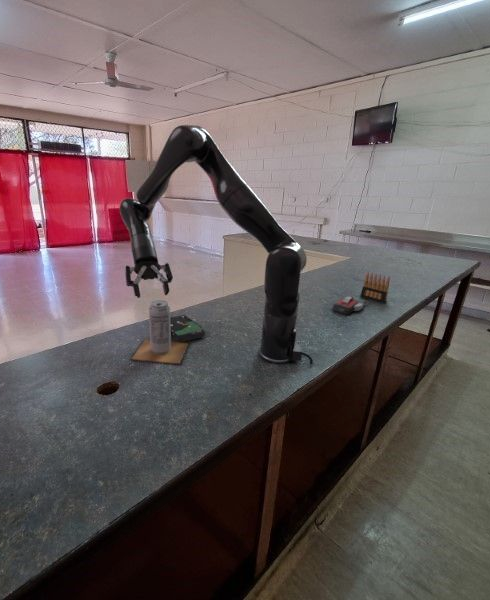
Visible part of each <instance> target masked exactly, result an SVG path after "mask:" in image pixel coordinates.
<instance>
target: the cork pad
mask: <svg viewBox="0 0 490 600" xmlns="http://www.w3.org/2000/svg"><path fill="white" fill-rule="evenodd" d="M188 346H189V343H188V342H177V341H171V348H170V349H169V351H168V352H167V353H165V354H156V353H154V352H153V351H152V350H151V346H150V339H148V338H147V339H146V338H145V339H144V340H143V342H142V343H141V344H140V346H139V347H138V348H137V350H136V352H135V353H134V354H133V356H132V357H131V361H140V362H141V361H142V362H151V363H152V362H153V363H161V364H162V363H163V364H172V365H181V362H182V359H183V357H184V355H185V352H186V350H187V348H188Z"/></svg>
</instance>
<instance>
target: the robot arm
mask: <svg viewBox="0 0 490 600" xmlns="http://www.w3.org/2000/svg"><path fill="white" fill-rule="evenodd" d="M185 163H195V164H197V166H199V167H200V168H201V169H202V170H203V172H204V173H205V174H206V175H207V176H208V178H209V180H210V182H211V185H212V188H213V193H214V195H215V198H216V201H217V202H218V205H219V206H220V207H221V208H222V210H223V211H224V212H225V214H226V215H227V216H228V217H229V219H231V221H232V222H233V223H234V224H235V225H237V226H238V227H239V228H240V229H242V230H243V231H245V232H246V233H248V234H249V235H250V236H252V237H253V238H254V239H256V240H257V242H259V243H260V244H261V246H262V247H263V248H264V250H265V251H266V252H267V254H268V255H267V258H266V261H265V265H264V266H265V267H264V268H265V269H264V282H263V290H264V291H263V292H264V295H265V299H264V306H263V307H264V308H263V317H262V318H263V320H262V330H261V338H260V348H259V356H260V357H261V358H262V359H263V360H265V361H267V362H268V363H273V364H285V363H292V362H293V361H299V362H301V361H302V356H304V357H306V358H307V359H308V360H309V364H310V365H313V364H314V361H313V358H312V356H311V355H309V354H308V353H306V352H303V351H302V346H301V344H298V343H297V344H296V337H297V329H296V326H297V320H298V319H297V318H298V312H299V304H300V297H301V296H300V292H299V287H300V279H301V273H302V272H303V270H304V269H305V267H306V265H307V260H308V259H307V254H306V251H305V250H304V248H303V247H302V246H301V245H300V244H299V242H297V241H296V240H295V239H294V238H293V237H292V235H290V234H289V233H288V232H287V231H286V230H285V229H284V228H283V227H282V226H281V225H280V224H279V223H278V221H277V220H276V219H275V217H274V215H273V214H272V212H271V211H269V209H268V207H266V206H265V204H264V203H263V201H262V200H261V199H260V197H259V196H258V195H257V194H256V193H255V191H254V190H253V189H252V188H251V186H250V185H249V184H248V183H247V182H246V181H245V180H244V178H243V177H242V176H241V175H240V174H239V172H238V171H237V170H236V169H235V168H234V166H233V165H232V164H231V163H230V162H229V161H228V160H227V158H226V157H225V156H224V154H223V153H222V151H221V150H220V148H219V146H218V144H217V143H216V142H215V140H214V138H213V137H212V136H211V134H210V133H209V131H207V130H206V129H205V128H203V127H202V126H200V125H194V124H181V125H177V126H176V127H174V129H173V130H172V131H171V133H170V134H169V136H168V138H167V139H166V141H165V143H164V146H163V148H162V149H161V152H160V154H159V156H158V158H157V160H156V162H155V164H154V166H153V167H152V169H151V171H150V172H149V174H148V175H147V177H146V178H145V179H144V181H142V183H141V184H140V186H139V187H138V189H137V191H136V194H135V195H136V199H135V198H131V197H125V198H123V199H122V200H121V202H120V203H119V214H120V217H121V219H122V221H123V223H124V225H125V227H126V229H127V230H128V233H129V240H130V249H131V253H132V260H133V264H134V265H133V266H130V265H125V270H124V273H125V283H126V284H125V285H126V286H127V287H132V288H133V294H134V296H135V297H136V298H137V299H140V298H141V290H140V285H139V284H140V283H141V281H142V280H143V281H148V280H156V281H158V282H160V283H161V284H162V289H163V294H164V296H168V294H169V293H170V286H169V284H171V283H172V281H173V278H174V277H173V273H172V271H171V267H170V264H169V262H165V264H160V263H159V258H158V255H157V250H156V246H155V241H154V239H153V236H152V230H151V227H150V224H149V223H148V222H149V220H150V219H151V217H152V214H153V211H154V209H155V207H156V204H157V203H158V202H159V201H160V200H161V199H162V197H163V196H164V195H165V193H166V192H167V190H168V188H169V186H170V185H169V184H170V180H171V178H172V176H173V174H174V173H175V172H176V171H177V170H178V169H179V168H180V167H181V166H182V165H184V164H185ZM161 270H162V271H163V272H164V273H165V275H164V274H163V272H161ZM133 272H134V273H135V274H136V277H135V279H134V280H132V277H131V275H132V274H133Z"/></svg>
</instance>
